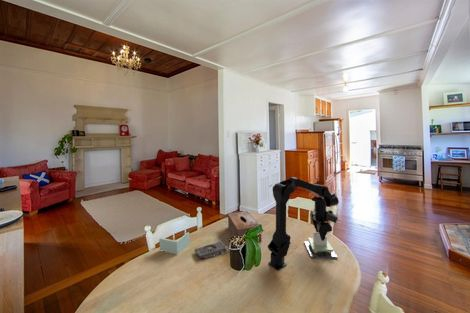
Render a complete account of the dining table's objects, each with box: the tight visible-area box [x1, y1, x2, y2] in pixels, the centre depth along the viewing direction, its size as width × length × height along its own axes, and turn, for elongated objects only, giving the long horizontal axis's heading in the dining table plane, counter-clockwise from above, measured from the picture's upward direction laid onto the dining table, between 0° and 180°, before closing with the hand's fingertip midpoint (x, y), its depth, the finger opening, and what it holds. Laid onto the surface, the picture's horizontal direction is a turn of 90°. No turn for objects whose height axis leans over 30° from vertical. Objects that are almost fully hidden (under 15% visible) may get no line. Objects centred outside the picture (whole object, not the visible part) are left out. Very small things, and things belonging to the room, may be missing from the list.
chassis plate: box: [304, 241, 338, 260], centre depth 116 cm, size 15×13×3 cm
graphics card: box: [194, 238, 229, 259], centre depth 119 cm, size 17×4×12 cm
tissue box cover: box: [227, 210, 263, 243], centre depth 138 cm, size 26×14×10 cm, turn 15°
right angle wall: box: [158, 231, 191, 255], centre depth 124 cm, size 12×12×8 cm
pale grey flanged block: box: [307, 232, 334, 252], centre depth 115 cm, size 12×10×6 cm
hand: (320, 236), depth 115 cm, fingers open, 9 cm apart
